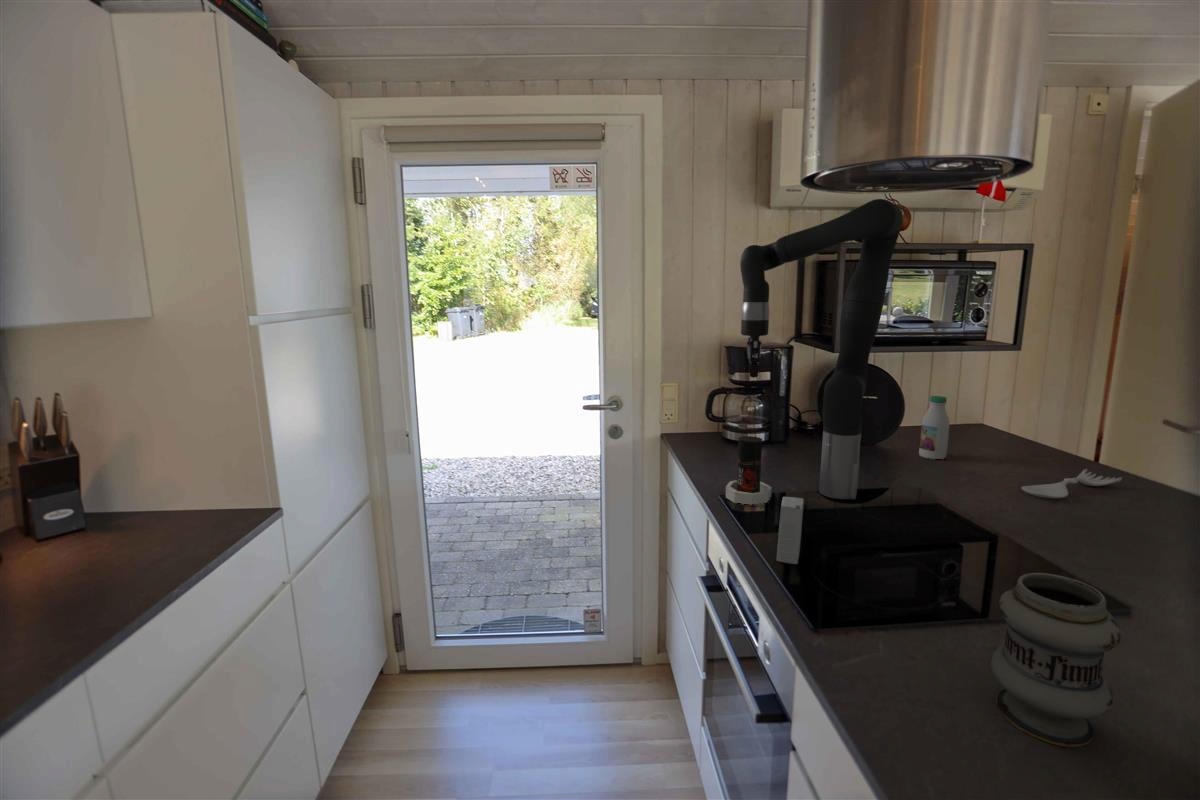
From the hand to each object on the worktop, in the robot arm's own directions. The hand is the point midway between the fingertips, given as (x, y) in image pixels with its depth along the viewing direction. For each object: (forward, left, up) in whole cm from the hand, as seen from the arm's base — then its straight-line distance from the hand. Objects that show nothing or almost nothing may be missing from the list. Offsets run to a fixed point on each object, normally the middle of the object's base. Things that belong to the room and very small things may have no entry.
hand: (752, 375), depth 163 cm
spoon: (-81, -23, -31) cm, 89 cm away
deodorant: (-4, +19, -29) cm, 35 cm away
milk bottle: (-50, -44, -30) cm, 73 cm away
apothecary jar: (-55, +82, -30) cm, 103 cm away
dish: (-4, +19, -30) cm, 36 cm away
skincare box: (-19, +50, -30) cm, 61 cm away
